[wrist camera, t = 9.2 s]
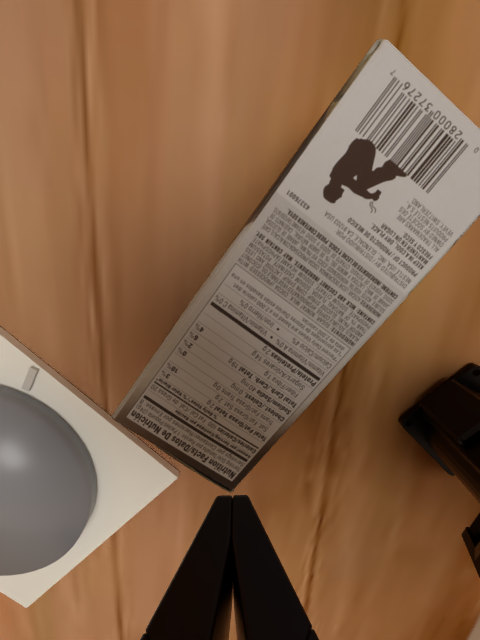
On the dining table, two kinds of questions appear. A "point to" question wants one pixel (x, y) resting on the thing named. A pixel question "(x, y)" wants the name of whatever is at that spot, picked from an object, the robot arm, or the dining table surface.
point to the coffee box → (312, 270)
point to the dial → (40, 485)
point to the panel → (106, 456)
